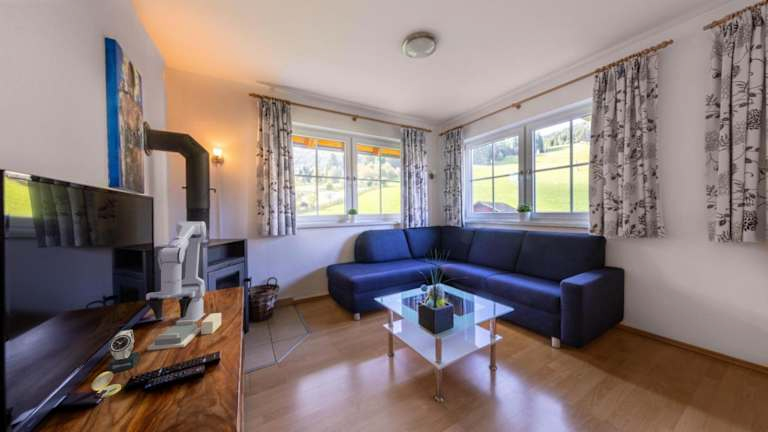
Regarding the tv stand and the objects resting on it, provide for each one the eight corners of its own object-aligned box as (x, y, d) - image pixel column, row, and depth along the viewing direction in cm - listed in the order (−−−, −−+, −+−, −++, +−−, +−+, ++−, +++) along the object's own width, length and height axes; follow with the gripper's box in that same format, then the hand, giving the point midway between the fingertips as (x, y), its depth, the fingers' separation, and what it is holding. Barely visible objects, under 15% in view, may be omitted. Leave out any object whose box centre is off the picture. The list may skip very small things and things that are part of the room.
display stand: (171, 331, 103) (171, 320, 103) (202, 329, 105) (202, 318, 105) (147, 350, 89) (147, 337, 89) (184, 346, 92) (184, 334, 92)
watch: (105, 377, 75) (105, 339, 74) (117, 362, 82) (117, 328, 82) (131, 371, 77) (131, 335, 77) (140, 358, 84) (141, 325, 84)
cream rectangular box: (210, 325, 110) (211, 313, 110) (221, 324, 111) (221, 312, 111) (201, 334, 101) (201, 322, 101) (212, 333, 102) (212, 321, 102)
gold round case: (106, 398, 66) (106, 379, 66) (89, 396, 67) (90, 377, 67) (125, 387, 71) (125, 369, 71) (109, 385, 71) (109, 367, 71)
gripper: (140, 284, 88) (139, 323, 88) (188, 282, 91) (188, 320, 91) (153, 279, 95) (153, 315, 95) (198, 277, 98) (197, 313, 98)
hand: (171, 317), depth 93 cm, fingers open, 7 cm apart
